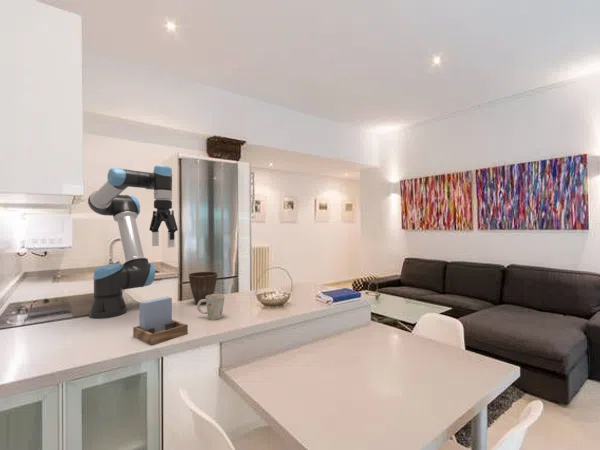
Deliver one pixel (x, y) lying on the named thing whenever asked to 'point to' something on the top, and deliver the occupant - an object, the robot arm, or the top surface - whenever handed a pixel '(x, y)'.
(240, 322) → the top surface
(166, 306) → the door
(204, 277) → the plant pot
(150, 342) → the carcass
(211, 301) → the mug
